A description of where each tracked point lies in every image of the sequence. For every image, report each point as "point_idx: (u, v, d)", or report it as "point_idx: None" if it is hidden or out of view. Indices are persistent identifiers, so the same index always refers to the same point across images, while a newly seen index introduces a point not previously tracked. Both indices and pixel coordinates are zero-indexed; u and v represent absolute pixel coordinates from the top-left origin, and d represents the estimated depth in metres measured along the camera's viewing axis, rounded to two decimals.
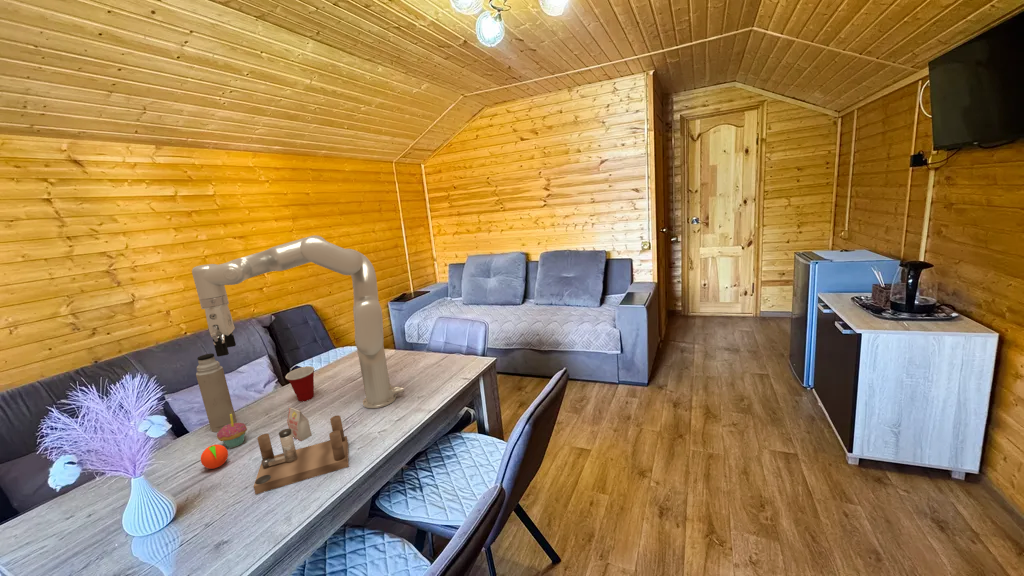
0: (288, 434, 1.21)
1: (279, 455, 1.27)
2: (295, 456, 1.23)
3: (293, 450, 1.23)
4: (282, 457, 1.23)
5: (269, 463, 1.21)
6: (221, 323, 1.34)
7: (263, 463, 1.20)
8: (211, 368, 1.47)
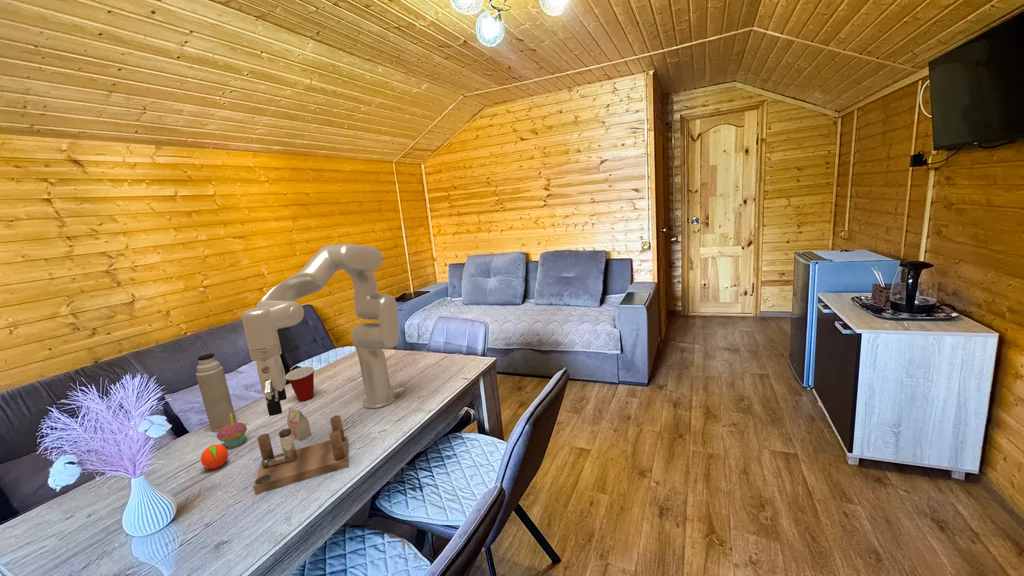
0: (288, 434, 1.21)
1: (279, 455, 1.27)
2: (295, 456, 1.23)
3: (293, 450, 1.23)
4: (282, 457, 1.23)
5: (269, 463, 1.21)
6: (275, 377, 1.14)
7: (263, 463, 1.20)
8: (211, 368, 1.47)
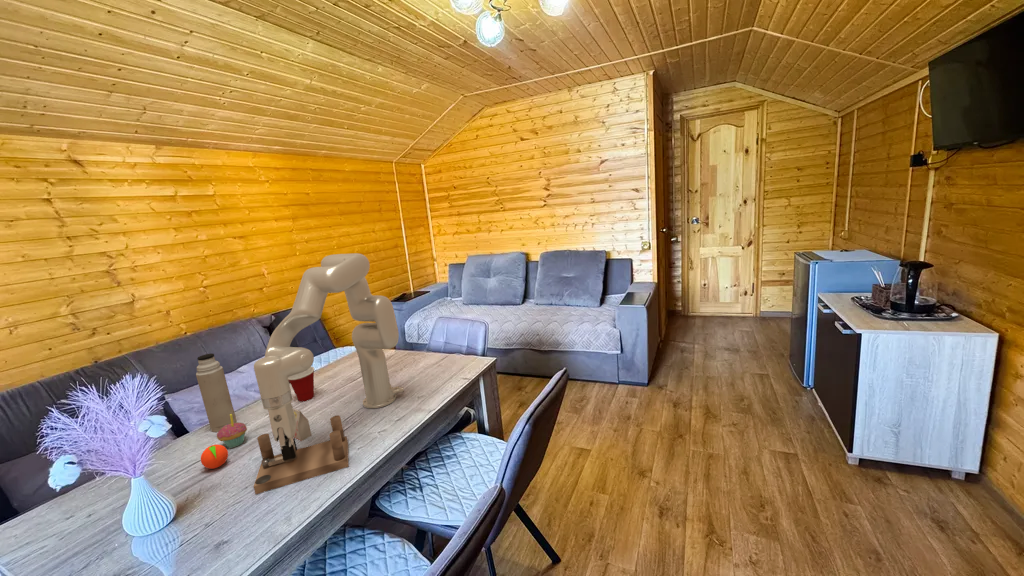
0: None
1: (279, 455, 1.27)
2: None
3: None
4: (282, 457, 1.23)
5: (269, 463, 1.21)
6: (286, 425, 1.17)
7: (263, 463, 1.20)
8: (211, 368, 1.47)
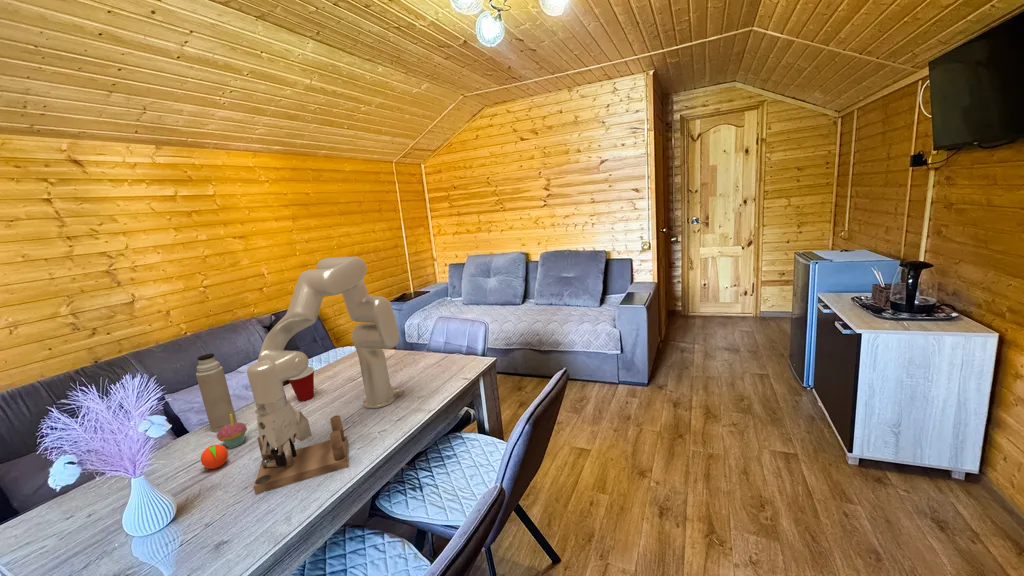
0: None
1: None
2: (290, 463, 1.20)
3: (288, 457, 1.20)
4: None
5: (267, 464, 1.21)
6: (269, 435, 1.13)
7: (262, 463, 1.20)
8: (211, 368, 1.47)
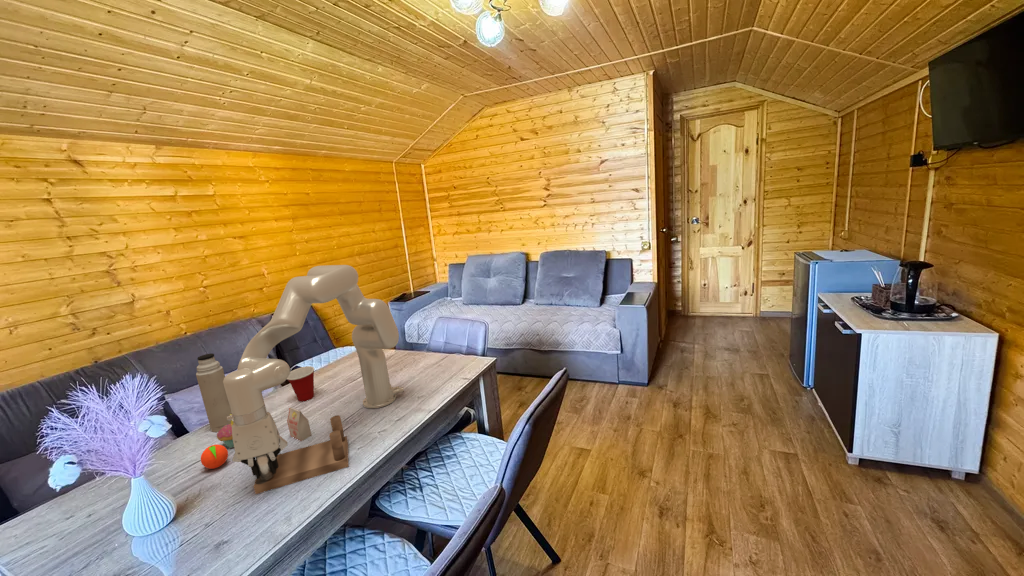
0: None
1: (279, 455, 1.27)
2: (263, 478, 1.14)
3: (261, 471, 1.14)
4: None
5: None
6: (234, 445, 1.10)
7: None
8: (211, 368, 1.47)
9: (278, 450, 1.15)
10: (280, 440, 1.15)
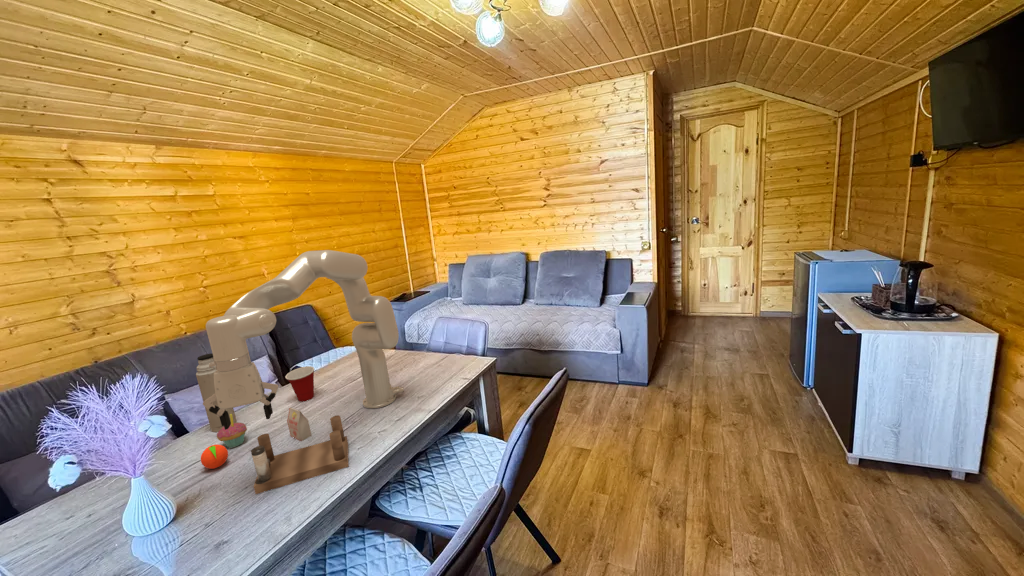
0: (252, 454, 1.13)
1: (279, 455, 1.27)
2: (260, 479, 1.14)
3: (258, 472, 1.14)
4: None
5: None
6: (215, 393, 1.07)
7: None
8: (211, 368, 1.47)
9: (273, 395, 1.12)
10: (268, 385, 1.12)
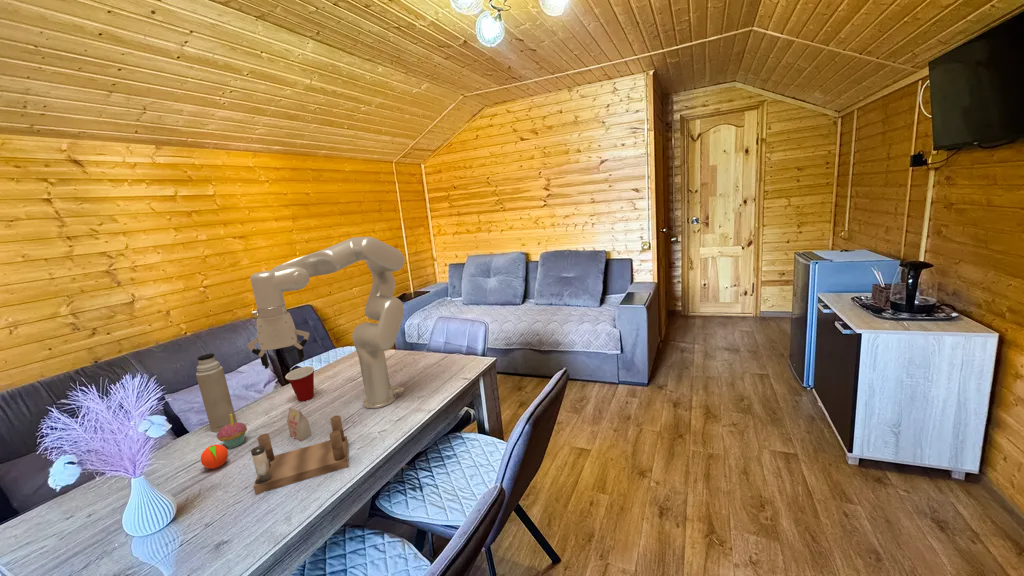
0: (252, 454, 1.13)
1: (279, 455, 1.27)
2: (260, 479, 1.14)
3: (258, 472, 1.14)
4: None
5: None
6: (258, 336, 1.25)
7: None
8: (211, 368, 1.47)
9: (305, 340, 1.31)
10: (301, 332, 1.31)
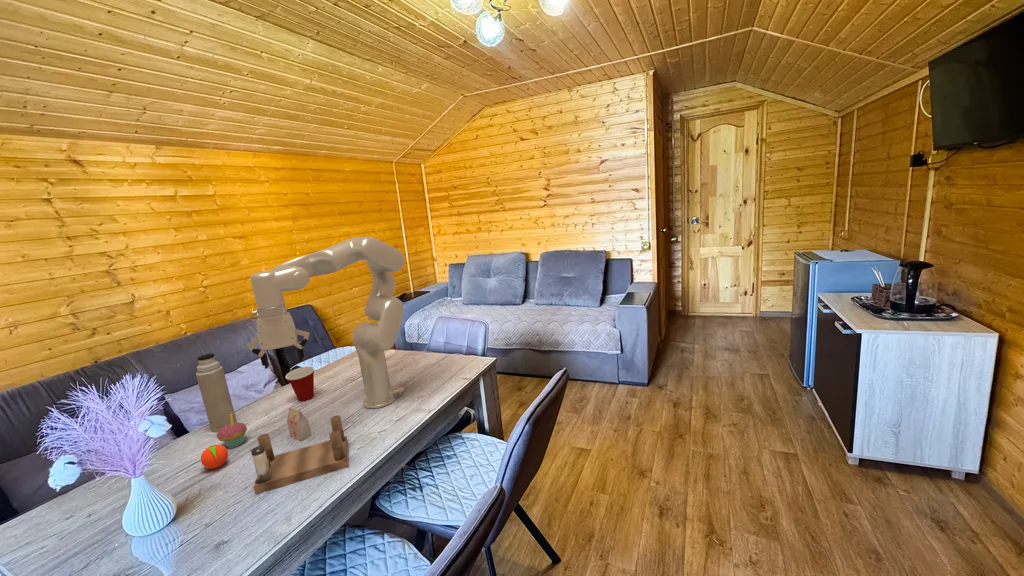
0: (252, 454, 1.13)
1: (279, 455, 1.27)
2: (260, 479, 1.14)
3: (258, 472, 1.14)
4: None
5: None
6: (258, 336, 1.25)
7: None
8: (211, 368, 1.47)
9: (305, 340, 1.31)
10: (301, 332, 1.31)
